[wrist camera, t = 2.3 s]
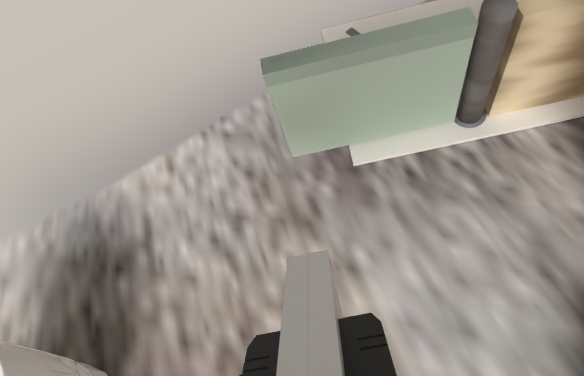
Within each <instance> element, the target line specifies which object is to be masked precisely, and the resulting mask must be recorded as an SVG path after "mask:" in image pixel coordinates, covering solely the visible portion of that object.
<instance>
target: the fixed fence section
mask: <svg viewBox="0 0 584 376" xmlns="http://www.w3.org/2000/svg"><path fill="white" fill-rule="evenodd" d="M583 96H584V0H521V1H516V0H483V2H482V5H481V9H480V13H479V17H478V26H477V30H476V34H475V37H474V41H473V45H472V49H471V53H470V57H469V62H468V66H467V70H466V74H465V78H464V82H463V87H462V91H461V95H460V99H459V103H458V108H457V112H456V117H457V118H458V120H459V121H461V122H463V123H466V124H473V123H476V122H478V121H479V120H480V119H481V117H482V114H483V111H484V108H485V110H486V112H487V116H488V117H492V116H497V115H501V114H506V113H510V112H515V111H519V110H524V109H528V108H533V107H537V106H542V105H546V104H551V103H556V102H560V101H565V100H569V99H574V98H578V97H583Z"/></svg>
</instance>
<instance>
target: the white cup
mask: <svg viewBox="0 0 584 376" xmlns="http://www.w3.org/2000/svg"><path fill="white" fill-rule="evenodd" d="M0 376H107V374H106V373H105V372H103V371H101V370H99V369H97V368H95V367H93V366H91V365H89V364H85V363H81V362H77V361H74V360H72V359H69V358H66V357H63V356H59V355H55V354H51V353H48V352H44V351H41V350H38V349H34V348H30V347H26V346H21V345H17V344H13V343H9V342H5V341H0Z"/></svg>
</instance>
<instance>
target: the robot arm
mask: <svg viewBox="0 0 584 376" xmlns="http://www.w3.org/2000/svg"><path fill="white" fill-rule="evenodd" d="M240 376H397V375H396V372H395V368H394V365H393V361H392V358H391V355H390V351H389V348H388V344H387V341H386V337H385V334H384V330H383V327H382V324H381V321H380V320H378V319H377V318H376V317H375V316H374V315H373V314H372V313H367V314H362V315H357V316H351V317H346V318H343V313H342V309H341V304H340V300H339V296H338V292H337V287H336V283H335V279H334V274H333V270H332V266H331V262H330V257H329V253H328V250H325V251H320V252H315V253H310V254H305V255H300V256H295V257H291V258H288V261H287V271H286V281H285V291H284V302H283V312H282V322H281V331H277V332H272V333H267V334H261V335H256V337H255V338H254V339H253V341H252V342H251V344H250V345H249V346H248V348H247V353H246V357H245V363H244V367H243V373H242V375H240Z"/></svg>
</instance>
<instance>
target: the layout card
mask: <svg viewBox="0 0 584 376" xmlns="http://www.w3.org/2000/svg"><path fill="white" fill-rule="evenodd" d="M516 1H521V0H516ZM482 2H483V0H435V1H431V2H427V3H423V4H419V5H415V6H411V7H407V8H403V9H399V10H395V11H391V12H388V13H383V14H379V15H375V16H371V17H367V18H363V19H359V20H356V21H352V22H348V23H344V24H340V25H336V26H332V27H328V28H324V29H321V33H322V37H323V41H324V43H327V42H331V41H335V40H339V39H343V38H347V37H351V36H355V35H359V34H363V33H367V32H371V31H375V30H379V29H383V28H387V27H391V26H395V25H399V24H403V23H407V22H411V21H415V20H419V19H423V18H427V17H431V16H435V15H439V14H443V13H447V12H451V11H455V10H459V9H463V8H467V7H470V8H471V10H472V11H473V13H474V15H475V17H476V19H477V21H478V17H479V13H480V9H481V5H482ZM580 117H584V96H583V97H578V98H574V99H569V100H565V101H560V102H556V103H551V104H546V105H542V106H537V107H533V108H528V109H524V110H519V111H515V112H510V113H506V114H501V115H497V116H492V117H488V116H487V112H486V110H485V108H484V111H483V114H482V117H481V119H480V120H479V121H478V122H476V123H473V124H466V123H463V122H461V121H459V120H458V118H457V117H456V116H455V120H454V122H451V123H446V124H442V125H437V126H433V127H428V128H424V129H419V130H415V131H410V132H406V133H401V134H396V135H392V136H387V137H383V138H378V139H374V140H369V141H365V142H360V143H356V144H351V145H349V149H350V153H351V158H352V162H353V166H357V165H362V164H366V163H371V162H375V161H380V160H385V159H389V158H394V157H399V156H403V155H408V154H413V153H417V152H422V151H427V150H431V149H436V148H440V147H445V146H450V145H454V144H459V143H464V142H468V141H473V140H478V139H482V138H487V137H492V136H496V135H501V134H505V133H510V132H515V131H519V130H524V129H529V128H533V127H538V126H543V125H547V124H552V123H557V122H561V121H566V120H570V119H575V118H580Z"/></svg>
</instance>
